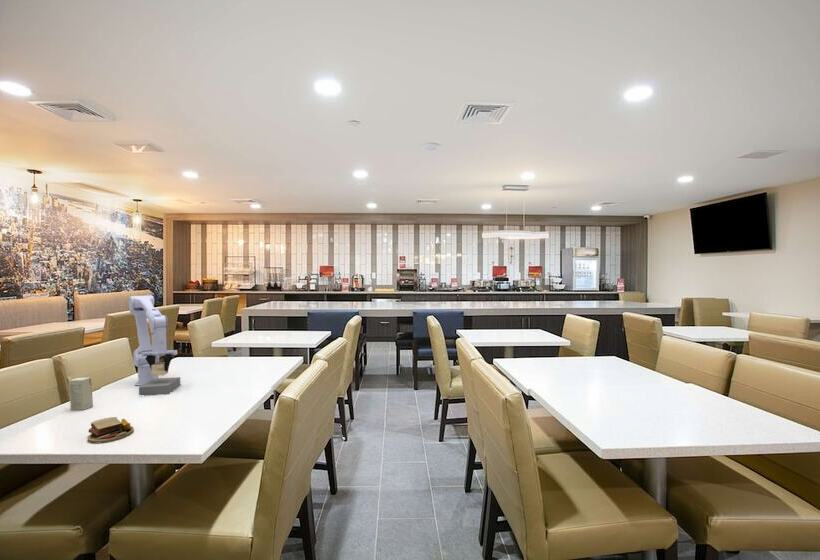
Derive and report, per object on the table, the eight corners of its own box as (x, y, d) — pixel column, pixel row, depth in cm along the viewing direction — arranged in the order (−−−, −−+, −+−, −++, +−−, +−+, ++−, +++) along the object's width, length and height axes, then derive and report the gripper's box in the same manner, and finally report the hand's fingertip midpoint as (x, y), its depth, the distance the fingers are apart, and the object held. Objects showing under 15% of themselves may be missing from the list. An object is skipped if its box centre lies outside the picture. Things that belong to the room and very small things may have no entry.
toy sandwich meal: (91, 447, 125) (90, 433, 125) (84, 436, 134) (83, 422, 134) (138, 435, 134) (137, 421, 134) (128, 425, 143) (127, 412, 143)
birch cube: (156, 373, 186) (156, 362, 186) (168, 372, 187) (167, 362, 186) (151, 376, 181) (151, 365, 181) (163, 375, 182) (163, 364, 182)
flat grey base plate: (153, 387, 190) (153, 378, 190) (180, 385, 192) (180, 377, 192) (139, 396, 176) (138, 387, 176) (168, 394, 178) (168, 385, 178)
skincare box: (93, 406, 163) (92, 377, 163) (83, 410, 159) (82, 380, 158) (79, 406, 164) (78, 377, 163) (69, 409, 159) (68, 380, 159)
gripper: (137, 344, 178) (138, 374, 178) (172, 342, 181) (173, 372, 181) (145, 341, 185) (145, 370, 185) (178, 340, 188) (179, 368, 188)
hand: (160, 370), depth 184 cm, fingers closed on birch cube, 5 cm apart
